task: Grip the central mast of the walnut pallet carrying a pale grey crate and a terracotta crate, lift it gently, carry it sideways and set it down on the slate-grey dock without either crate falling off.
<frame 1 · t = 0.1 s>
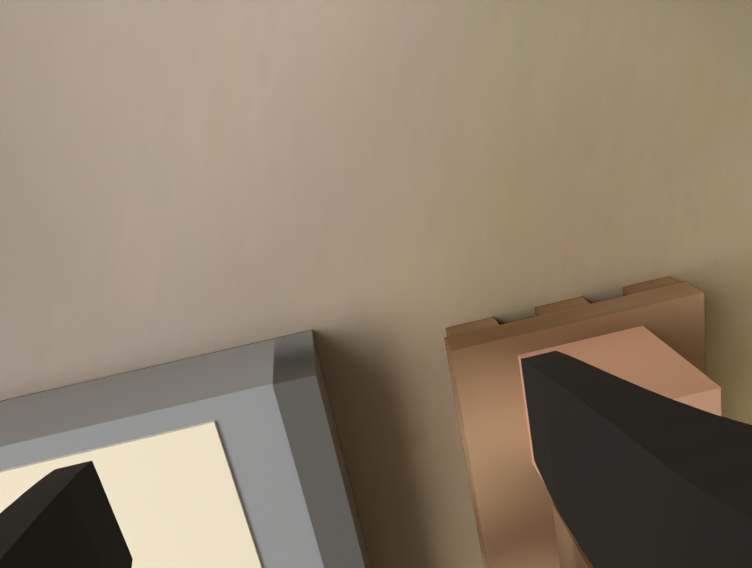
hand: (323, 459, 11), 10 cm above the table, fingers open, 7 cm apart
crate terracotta: (586, 396, 21), point 2 cm above the table, touching pallet
pallet: (576, 503, 25), on the table, touching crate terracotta
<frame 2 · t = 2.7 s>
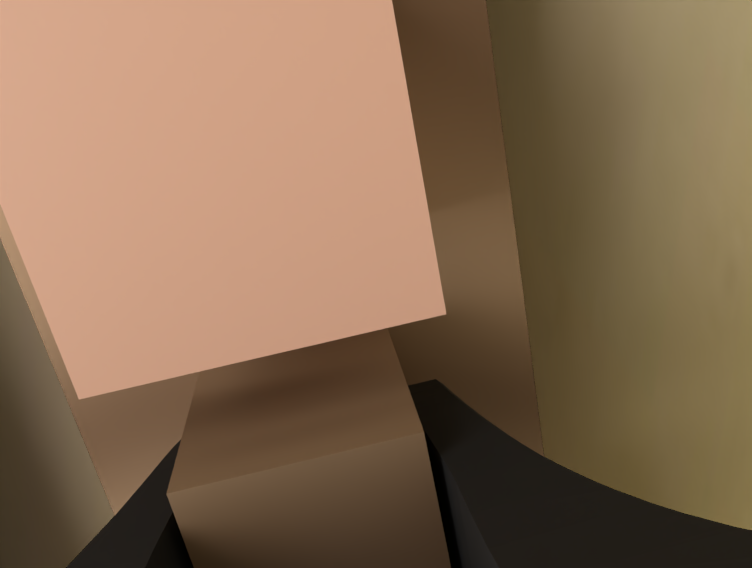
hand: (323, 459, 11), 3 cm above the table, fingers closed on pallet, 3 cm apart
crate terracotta: (240, 127, 10), point 2 cm above the table, touching pallet
pallet: (315, 374, 14), on the table, touching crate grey, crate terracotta, gripper
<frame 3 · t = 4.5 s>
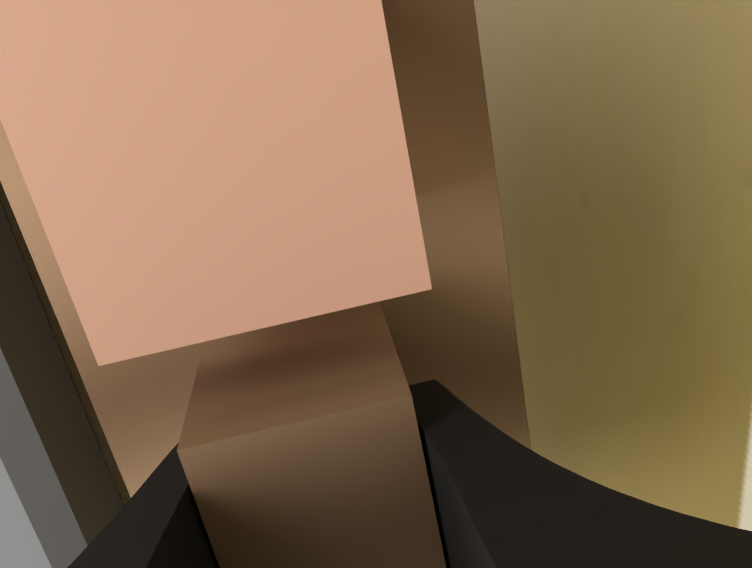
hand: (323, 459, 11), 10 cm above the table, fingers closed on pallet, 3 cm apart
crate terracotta: (242, 115, 11), point 9 cm above the table, touching pallet
pallet: (312, 349, 15), point 6 cm above the table, touching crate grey, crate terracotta, gripper
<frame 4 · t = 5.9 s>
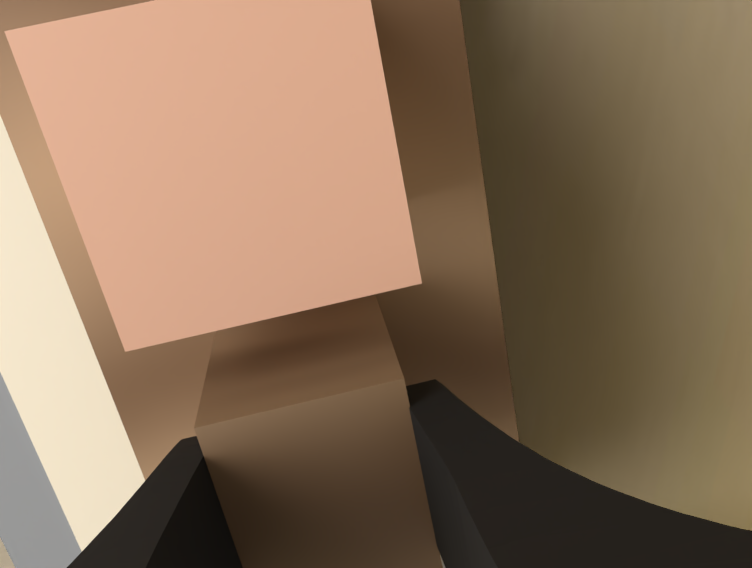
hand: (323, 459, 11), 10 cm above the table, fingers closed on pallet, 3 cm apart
dock: (220, 288, 21), on the table
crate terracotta: (249, 125, 12), point 8 cm above the table, touching pallet
pallet: (313, 342, 16), point 6 cm above the table, touching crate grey, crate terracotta, gripper
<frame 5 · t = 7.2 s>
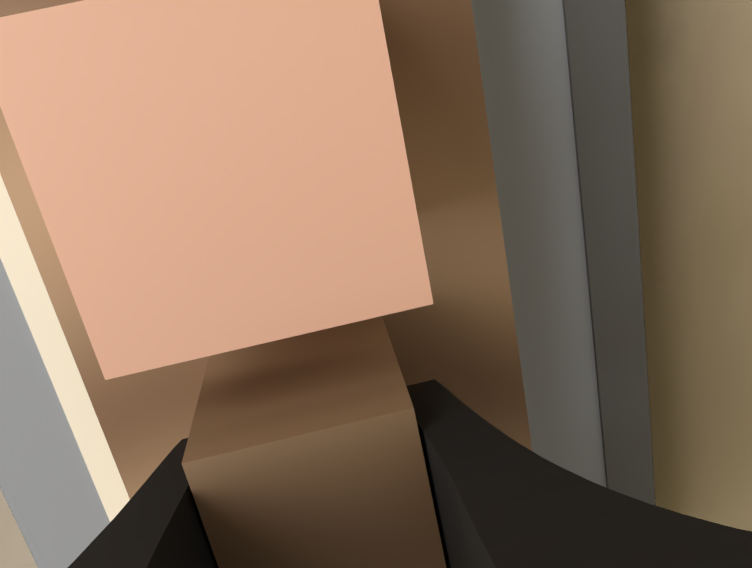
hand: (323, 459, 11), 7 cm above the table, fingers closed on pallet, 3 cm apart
dock: (311, 308, 18), on the table
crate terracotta: (247, 134, 11), point 5 cm above the table, touching pallet
pallet: (316, 364, 15), point 3 cm above the table, touching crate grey, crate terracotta, dock, gripper
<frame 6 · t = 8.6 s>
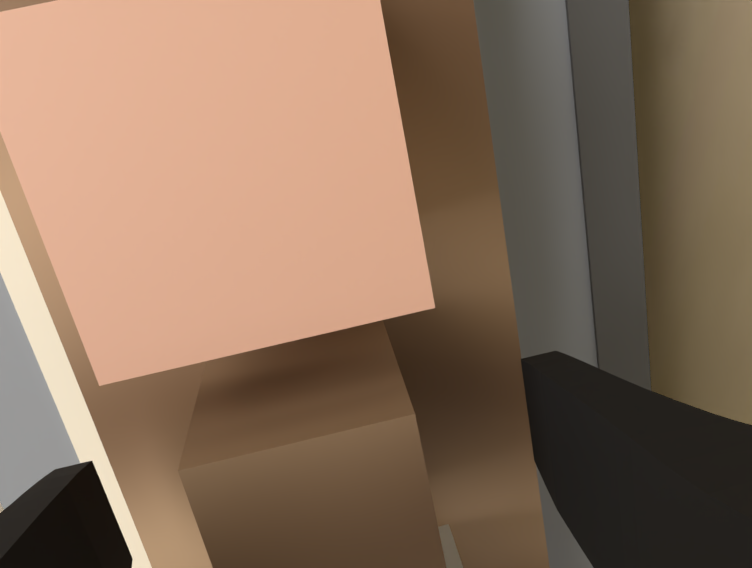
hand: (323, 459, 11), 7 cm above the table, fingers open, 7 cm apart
dock: (310, 309, 17), on the table
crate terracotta: (245, 134, 11), point 5 cm above the table, touching pallet
pallet: (315, 367, 15), point 3 cm above the table, touching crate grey, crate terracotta, dock
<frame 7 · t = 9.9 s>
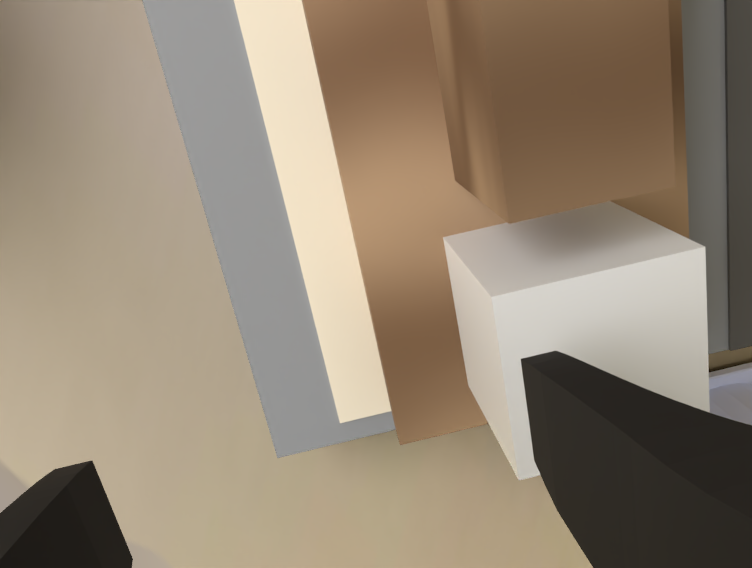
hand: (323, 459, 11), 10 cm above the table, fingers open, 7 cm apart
dock: (453, 64, 19), on the table
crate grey: (535, 295, 16), point 5 cm above the table, touching pallet
pallet: (482, 73, 17), point 3 cm above the table, touching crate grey, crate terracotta, dock
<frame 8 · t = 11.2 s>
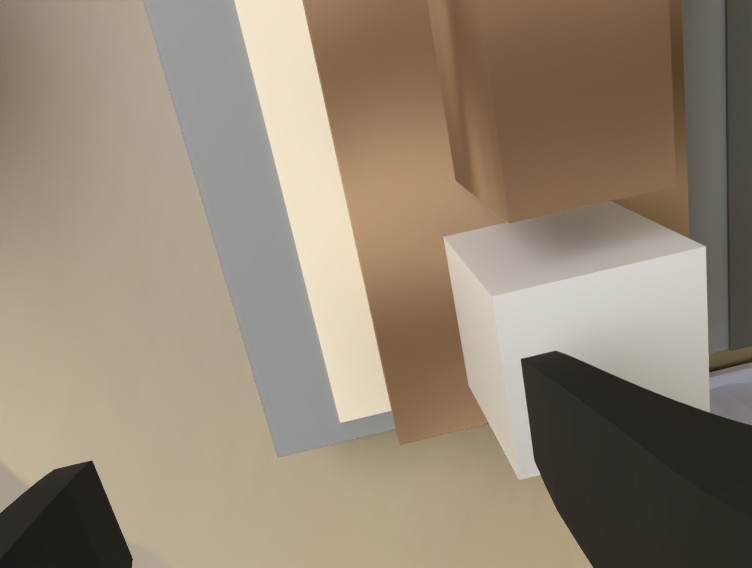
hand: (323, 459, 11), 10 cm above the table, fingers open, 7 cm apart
dock: (454, 64, 19), on the table
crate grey: (535, 295, 16), point 5 cm above the table, touching pallet
pallet: (483, 72, 17), point 3 cm above the table, touching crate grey, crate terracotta, dock
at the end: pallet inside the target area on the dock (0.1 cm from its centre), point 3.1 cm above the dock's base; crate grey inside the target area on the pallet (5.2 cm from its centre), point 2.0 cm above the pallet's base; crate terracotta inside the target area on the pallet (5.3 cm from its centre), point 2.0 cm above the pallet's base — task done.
